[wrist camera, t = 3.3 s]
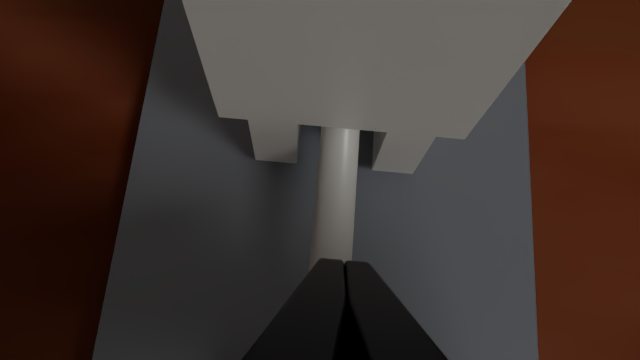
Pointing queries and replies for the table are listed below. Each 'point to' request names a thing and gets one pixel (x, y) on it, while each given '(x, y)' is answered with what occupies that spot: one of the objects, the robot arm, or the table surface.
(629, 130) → the table surface
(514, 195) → the flat grey panel
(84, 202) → the table surface
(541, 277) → the table surface
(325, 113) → the stepped pale block
